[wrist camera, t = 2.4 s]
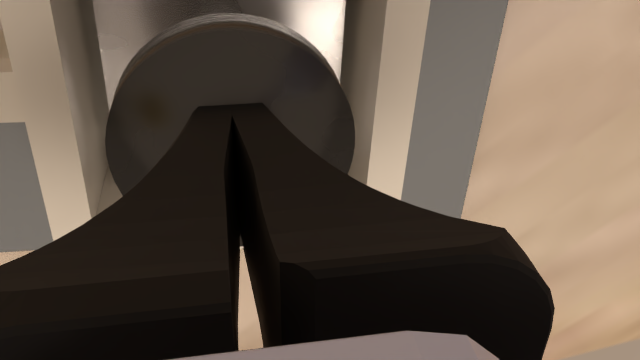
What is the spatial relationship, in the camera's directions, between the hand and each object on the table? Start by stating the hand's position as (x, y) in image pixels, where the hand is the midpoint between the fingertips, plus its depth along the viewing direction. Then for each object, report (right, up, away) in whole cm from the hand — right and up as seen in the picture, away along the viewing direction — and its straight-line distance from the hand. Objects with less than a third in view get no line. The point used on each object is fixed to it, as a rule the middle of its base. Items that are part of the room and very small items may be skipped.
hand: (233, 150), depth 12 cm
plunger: (-1, +3, +5) cm, 6 cm away
